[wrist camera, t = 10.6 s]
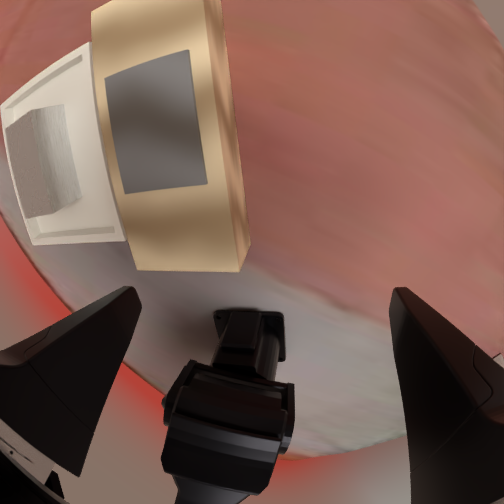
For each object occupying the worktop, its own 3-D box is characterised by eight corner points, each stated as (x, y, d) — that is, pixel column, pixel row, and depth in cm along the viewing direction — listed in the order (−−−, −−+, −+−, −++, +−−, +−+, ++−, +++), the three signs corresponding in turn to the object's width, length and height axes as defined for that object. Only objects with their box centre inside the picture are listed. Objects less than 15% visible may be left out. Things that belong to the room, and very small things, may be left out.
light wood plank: (250, 243, 22) (238, 274, 18) (160, 245, 23) (135, 272, 20) (219, -12, 12) (198, -35, 9) (122, 20, 14) (88, 11, 10)
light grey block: (82, 196, 22) (53, 213, 18) (52, 202, 23) (25, 218, 19) (64, 103, 17) (30, 109, 14) (34, 120, 18) (4, 129, 15)
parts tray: (137, 230, 23) (125, 241, 21) (43, 237, 26) (32, 245, 24) (104, 43, 15) (88, 41, 13) (13, 102, 18) (0, 105, 16)
